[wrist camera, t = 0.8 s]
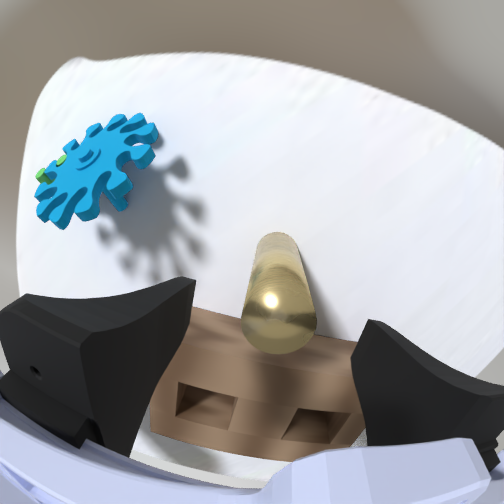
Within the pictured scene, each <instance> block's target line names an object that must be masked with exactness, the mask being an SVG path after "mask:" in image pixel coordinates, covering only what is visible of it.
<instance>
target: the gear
mask: <svg viewBox="0 0 504 504" xmlns="http://www.w3.org/2000/svg"><path fill="white" fill-rule="evenodd" d="M157 138H158V130H157V128H156V126H155V124H154V123H149V124H147V122H146V120H145V117H144V115H143V114H142V113H138V114H136V115H134V116H133V117H132V118H131V119H129V120H127V118H126V116H125V115H124V114H118V115H115V116H114V117H113V118H112V119H111V120H110V122H109V123H108V125H107V126H106V127H105V128H104V129H103V127H102V126H101V124H100V123H97V124H94V125H92V126H90V127H89V128H88V129H87V130H86V137H85V139H84V140H83V142H82V143H81V144H80V145H79V144H78V142H77V141H76V139H73V140H72V141H70V142H69V143H68V144H67V145H65V146H64V147H63V151H64V152H65V153H66V155H63V156H62V157H60V158H59V159H58V161H56V160H54V161H52V162H51V163H50V165H49V166H48V167H47V168H46V169H45V168H42V169H41V170H40V171H39V172H38V173H37V174H36V179H37V180H38V181H39V182H40V183H41V184H40V185H39V187H38V188H37V190H36V193H35V196H34V197H35V198H36V199H37V200H38V201H39V202H40V203H39V204H38V206H37V209H36V212H37V216H38V217H39V218H40V219H41V220H42V221H43V222H44V223H46V222H47V221H49V220H51V221H52V222H53V223H54V224H55V225H56V226H57V227H58V228H59V229H62V230H64V229H65V228H66V227H67V226H68V225H69V223H70V220H71V217H72V215H73V213H74V212H75V214H76V215H77V216H78V217H79V218H80V219H81V220H82V221H89V220H92V219H95V218H97V216H98V215H99V212H100V207H99V198H100V195H101V193H102V191H103V193H104V194H105V195H106V197H107V198H108V199H109V200H110V202H111V203H112V204H113V205H114V207H115V208H116V209H117V210H118V211H119V212H121V211H123V210H125V209H126V208H127V206H128V202H127V201H126V200H125V198H124V197H123V196H124V195H125V194H127V193H128V192H129V191H130V190H132V189H133V184H132V182H131V181H130V179H129V178H128V176H127V175H126V173H124V172H122V166H123V165H124V164H125V163H126V162H128V161H130V160H133V162H134V163H135V165H136V167H137V168H138V169H145V168H146V167H147V166H148V165H149V164H150V163H151V162H152V161H153V159H154V158H155V154H154V152H153V150H152V148H151V146H150V145H149V144H152V143H154V142H156V140H157ZM136 143H143V144H144V145H140V146H133V145H134V144H136ZM51 197H52V198H51Z"/></svg>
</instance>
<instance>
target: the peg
mask: <svg viewBox="0 0 504 504" xmlns="http://www.w3.org/2000/svg"><path fill="white" fill-rule="evenodd" d="M316 324H317V318H316V313H315V309H314V305H313V302H312V298H311V294H310V291H309V287H308V283H307V280H306V276H305V273H304V269H303V265H302V262H301V258H300V255H299V252H298V248H297V245H296V243H295V241H294V240H293V239H292V238H291V237H290V236H289V235H287V234H285V233H281V232H274V233H270V234H267V235H266V236H264V237H263V238H262V239H261V240H260V242H259V243H258V246H257V249H256V254H255V258H254V263H253V267H252V272H251V276H250V280H249V285H248V289H247V294H246V298H245V303H244V307H243V312H242V316H241V329H242V332H243V334H244V336H245V338H246V339H247V341H248V342H249V343H250V344H251V345H252V346H254V347H255V348H257V349H259V350H260V351H263V352H266V353H270V354H286V353H290V352H293V351H296V350H298V349H300V348H301V347H303V346H304V345H305V344H306V343H308V341H309V340H310V339H311V338H312V336H313V334H314V332H315V329H316Z"/></svg>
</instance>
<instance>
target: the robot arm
mask: <svg viewBox="0 0 504 504" xmlns="http://www.w3.org/2000/svg"><path fill="white" fill-rule="evenodd" d="M195 285H196V280H194V279H190V278H186V277H182V276H181V277H177V278H174V279H171V280H168V281H165V282H163V283H160V284H157V285H154V286H151V287H148V288H145V289H141V290H138V291H134V292H131V293H127V294H122V295H116V296H110V297H101V298H88V299H67V298H53V297H46V296H39V295H32V294H25V295H23V296H22V297H20V298H19V299H17V300H16V301H14V302H13V303H11V304H9V305H8V306H6V307H5V308H3V309H2V310H1V311H0V341H1V344H2V347H3V350H4V354H5V357H6V360H7V362H8V365H9V368H10V370H9V371H8V372H7V373H6V374H5V375H3V373H2V372H1V371H0V504H504V449H503V450H502V451H500V452H499V453H498V454H496V452H495V450H494V449H495V448H496V447H497V446H498V442H497V440H496V438H497V437H498V435H499V434H500V433H501V432H502V431H503V430H504V386H501V385H497V384H492V383H489V382H486V381H483V380H479V379H477V378H474V377H471V376H469V375H466V374H464V373H462V372H460V371H457V370H455V369H453V368H451V367H449V366H448V365H446V364H444V363H442V362H441V361H439V360H437V359H435V358H434V357H432V356H431V355H429V354H428V353H426V352H425V351H423V350H422V349H420V348H419V347H418V346H416V345H415V344H414V343H412V342H411V341H409V340H408V339H407V338H405V337H404V336H403V335H401V334H400V333H399V332H397V331H396V330H394V329H393V328H391V327H390V326H388V325H387V324H385V323H383V322H381V321H376V320H371V319H368V321H367V323H366V325H365V328H364V330H363V332H362V334H361V336H360V338H359V341H358V343H357V345H356V347H355V349H354V351H353V353H352V355H351V357H350V360H351V369H352V376H353V380H354V384H355V388H356V391H357V395H358V398H359V402H360V405H361V409H362V413H363V417H364V421H365V426H366V435H367V445H368V446H356V447H349V448H340V449H331V450H324V451H321V452H318V453H315V454H312V455H309V456H305V457H302V458H299V459H296V460H294V461H293V462H292V463H290V464H289V465H287V466H286V467H284V468H283V469H282V470H280V471H279V472H277V473H276V474H274V475H273V476H272V477H271V479H270V480H269V482H268V483H267V484H266V486H265V487H264V488H263V489H257V488H256V489H255V488H253V489H252V488H233V487H228V486H223V485H218V484H213V483H209V482H204V481H200V480H196V479H192V478H188V477H184V476H181V475H177V474H174V473H171V472H167V471H164V470H161V469H158V468H155V467H152V466H149V465H146V464H144V463H141V462H138V461H136V460H133V459H131V458H129V457H130V453H131V450H132V447H133V444H134V441H135V439H136V436H137V433H138V430H139V427H140V425H141V422H142V420H143V417H144V414H145V412H146V409H147V407H148V404H149V402H150V400H151V397H152V395H153V393H154V390H155V388H156V386H157V384H158V382H159V380H160V378H161V377H162V375H163V373H164V372H165V370H166V368H167V367H168V365H169V363H170V362H171V360H172V358H173V357H174V355H175V353H176V351H177V350H178V348H179V346H180V345H181V343H182V341H183V338H184V336H185V334H186V331H187V329H188V326H189V324H190V317H191V310H192V304H193V297H194V291H195Z"/></svg>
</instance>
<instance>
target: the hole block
mask: <svg viewBox="0 0 504 504" xmlns="http://www.w3.org/2000/svg"><path fill="white" fill-rule="evenodd" d="M357 343H358V342H353V341H347V340H341V339H336V338H330V337H325V336H319V335H314V334H313V336H312V338H311V339H310V340H309V341H308V343H306V344H305V345H304V346H303V347H301V348H300V349H298V350H296V351H293V352H290V353H286V354H270V353H266V352H263V351H260V350H259V349H257V348H255V347H254V346H252V345H251V344H250V343H249V342H248V341H247V339H246V338H245V336H244V334H243V332H242V329H241V319H240V318H235V317H231V316H227V315H223V314H219V313H215V312H212V311H208V310H204V309H200V308H196V307H193V306H192V310H191V317H190V324H189V326H188V329H187V331H186V334H185V336H184V338H183V341H182V343H181V345H180V346H179V348H178V350H177V351H176V353H175V355H174V357H173V358H172V360H171V362H170V363H169V365H168V367H167V368H166V370H165V372H164V373H163V375H162V377H161V378H160V380H159V382H158V384H157V386H156V388H155V390H154V393H153V395H152V397H151V400H150V427H151V432H154V433H157V434H160V435H163V436H166V437H169V438H173V439H176V440H179V441H183V442H186V443H190V444H194V445H197V446H201V447H205V448H209V449H214V450H218V451H223V452H227V453H232V454H238V455H243V456H249V457H255V458H262V459H269V460H277V461H287V462H293V461H294V460H296V459H299V458H302V457H305V456H309V455H312V454H315V453H318V452H321V451H324V450H331V449H340V448H349V447H350V446H351V445H352V444H353V443H354V442H355V440H356V439H357V438H358V437H359V435H360V434H361V433H362V431H363V430H364V429H365V428H366V426H365V421H364V417H363V413H362V409H361V405H360V402H359V398H358V395H357V391H356V388H355V384H354V380H353V376H352V369H351V360H350V357H351V355H352V353H353V351H354V349H355V347H356V345H357Z"/></svg>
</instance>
